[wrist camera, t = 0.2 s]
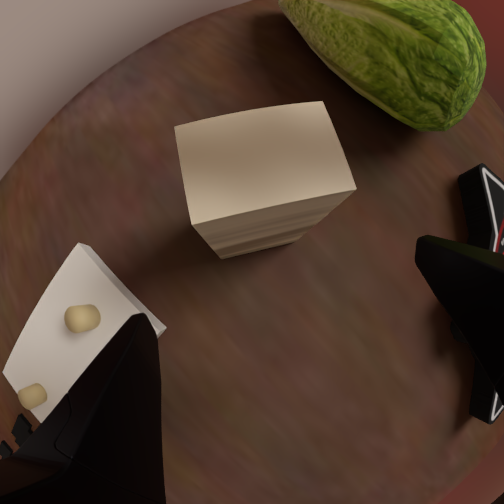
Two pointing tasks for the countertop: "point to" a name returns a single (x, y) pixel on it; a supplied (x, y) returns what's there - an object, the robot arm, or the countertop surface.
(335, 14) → the lettuce
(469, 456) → the countertop surface
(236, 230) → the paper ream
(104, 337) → the white peg rack
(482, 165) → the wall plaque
